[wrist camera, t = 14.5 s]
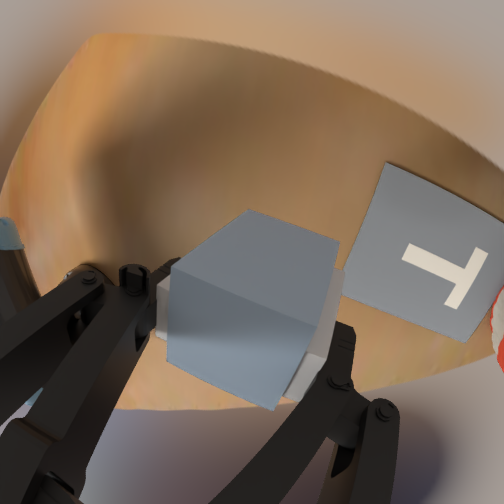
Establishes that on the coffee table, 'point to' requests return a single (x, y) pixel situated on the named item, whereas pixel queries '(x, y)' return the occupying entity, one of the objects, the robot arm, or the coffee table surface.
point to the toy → (498, 326)
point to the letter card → (426, 256)
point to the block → (249, 305)
